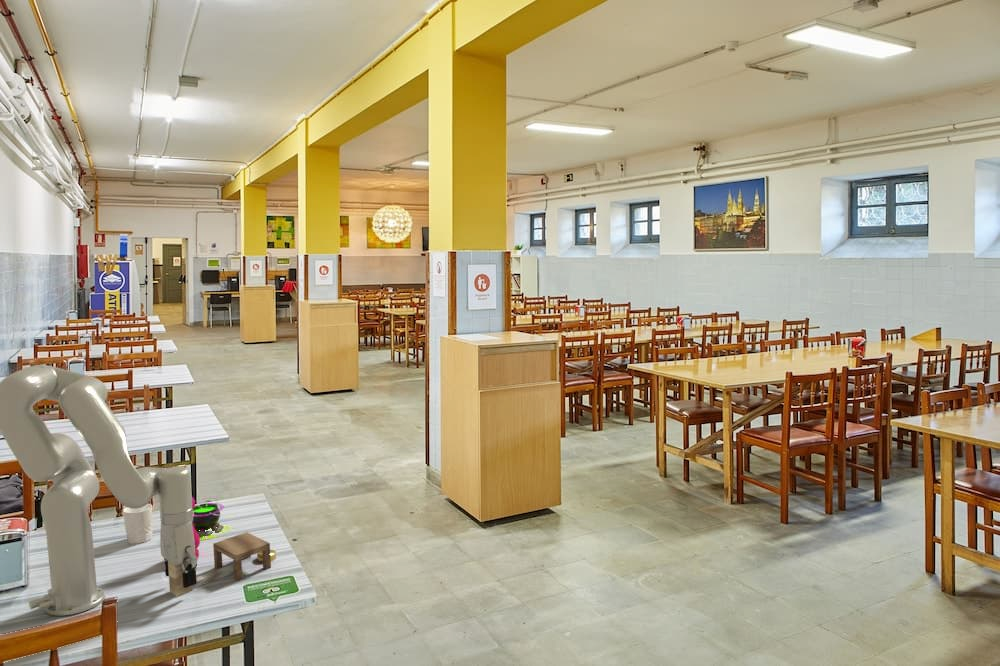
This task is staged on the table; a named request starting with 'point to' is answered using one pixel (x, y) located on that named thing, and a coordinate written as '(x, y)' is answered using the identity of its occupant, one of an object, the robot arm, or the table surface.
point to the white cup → (138, 524)
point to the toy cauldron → (207, 519)
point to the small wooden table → (241, 551)
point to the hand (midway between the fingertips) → (181, 579)
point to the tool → (177, 577)
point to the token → (272, 556)
